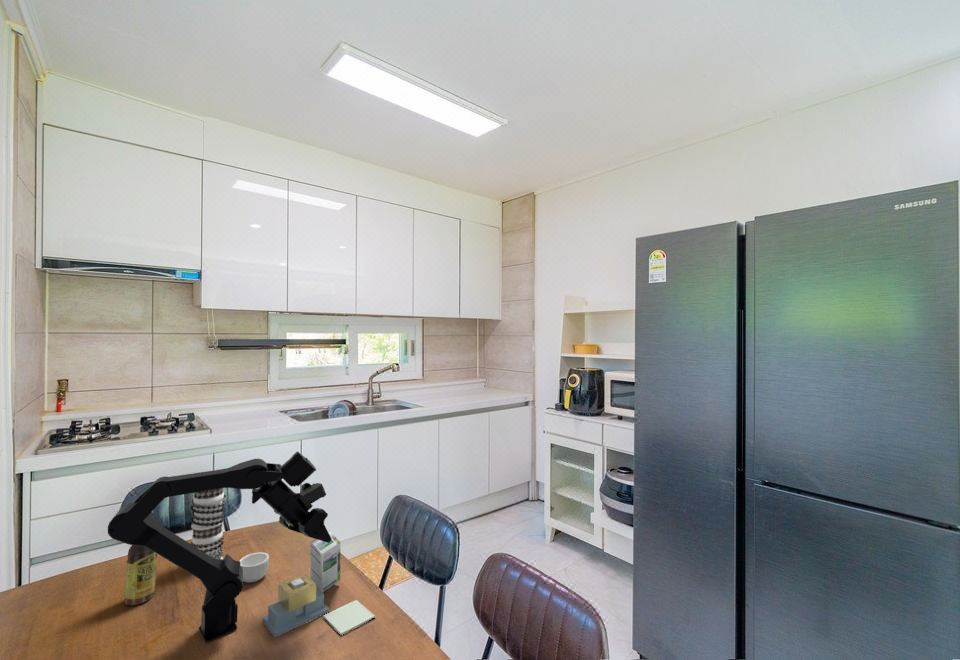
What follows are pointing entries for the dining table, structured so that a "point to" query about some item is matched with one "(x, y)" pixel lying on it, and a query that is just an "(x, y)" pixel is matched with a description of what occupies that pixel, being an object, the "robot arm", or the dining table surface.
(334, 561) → the syrup box
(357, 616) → the off-white board
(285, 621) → the blue stepped base
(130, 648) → the dining table surface
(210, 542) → the white patterned cylinder
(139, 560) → the sauce bottle
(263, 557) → the teacup
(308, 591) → the brass collar
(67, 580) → the dining table surface
